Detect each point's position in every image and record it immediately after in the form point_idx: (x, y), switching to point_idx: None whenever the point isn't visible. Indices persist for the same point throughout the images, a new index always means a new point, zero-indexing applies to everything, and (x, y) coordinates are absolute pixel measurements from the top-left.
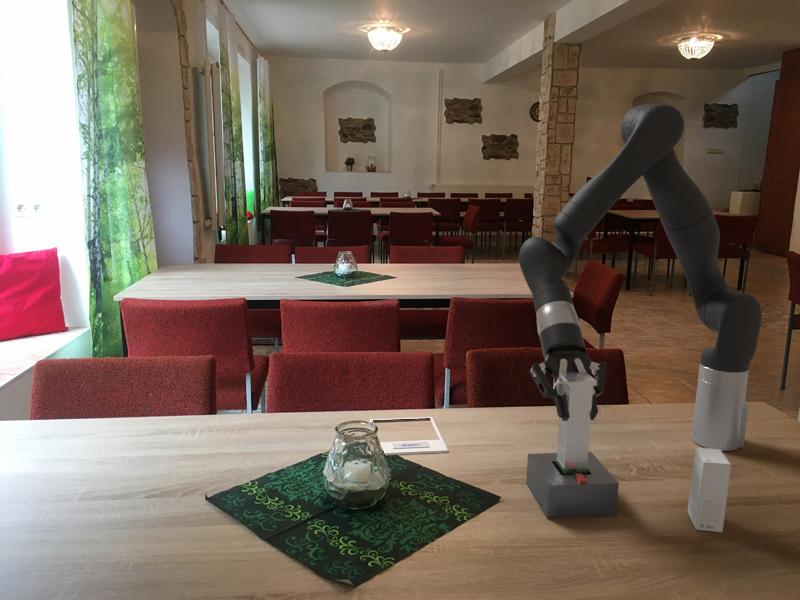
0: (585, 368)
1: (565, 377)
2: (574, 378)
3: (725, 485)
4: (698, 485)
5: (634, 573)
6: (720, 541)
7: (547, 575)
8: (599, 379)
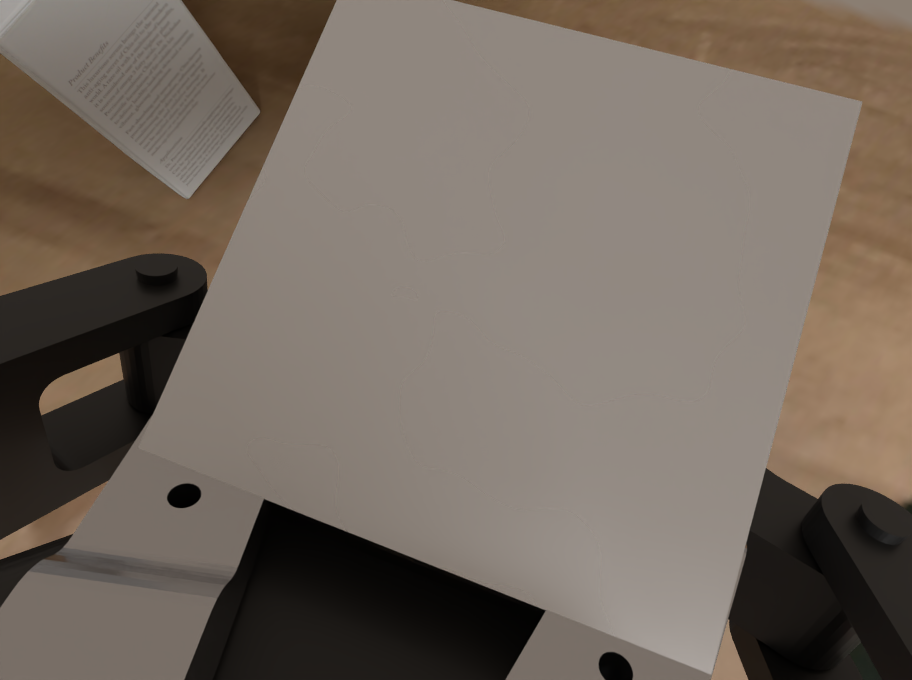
0: (16, 572)
1: (780, 326)
2: (630, 216)
3: None
4: (170, 35)
5: (607, 18)
6: (249, 49)
7: (868, 92)
8: (40, 336)
